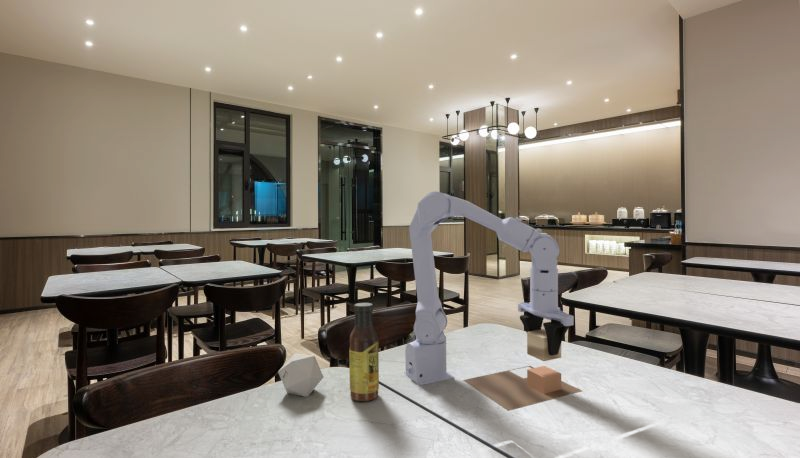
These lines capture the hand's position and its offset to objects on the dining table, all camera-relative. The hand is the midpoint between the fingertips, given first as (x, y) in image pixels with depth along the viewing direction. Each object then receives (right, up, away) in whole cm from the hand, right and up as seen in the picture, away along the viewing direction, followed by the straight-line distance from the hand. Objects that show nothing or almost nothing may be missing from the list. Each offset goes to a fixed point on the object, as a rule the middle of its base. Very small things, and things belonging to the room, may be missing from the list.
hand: (543, 350), depth 88 cm
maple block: (0, -1, 0) cm, 1 cm away
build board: (-5, -9, +1) cm, 10 cm away
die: (-54, -10, 0) cm, 54 cm away
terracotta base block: (0, -8, 0) cm, 8 cm away
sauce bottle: (-39, -9, -2) cm, 41 cm away
